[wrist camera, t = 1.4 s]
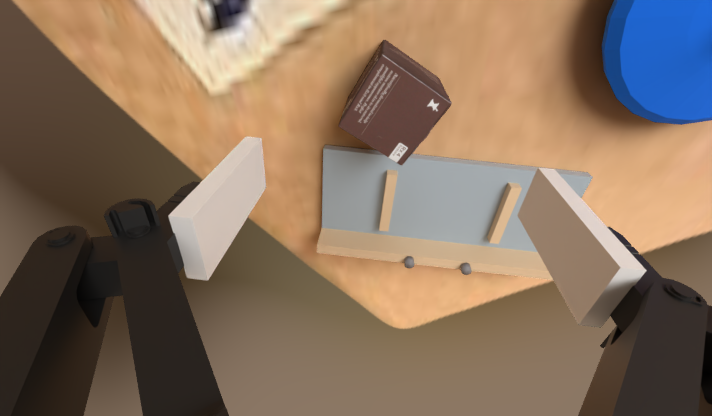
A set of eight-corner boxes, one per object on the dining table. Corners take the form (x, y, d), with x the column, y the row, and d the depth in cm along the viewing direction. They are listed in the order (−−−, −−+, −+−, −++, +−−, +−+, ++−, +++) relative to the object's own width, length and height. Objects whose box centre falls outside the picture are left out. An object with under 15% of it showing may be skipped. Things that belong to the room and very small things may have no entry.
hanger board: (324, 144, 33) (315, 166, 29) (587, 172, 32) (615, 198, 28) (323, 230, 39) (315, 258, 35) (543, 255, 38) (560, 286, 34)
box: (384, 36, 27) (382, 50, 21) (441, 78, 29) (455, 103, 22) (346, 99, 30) (335, 126, 24) (399, 134, 32) (401, 168, 26)
